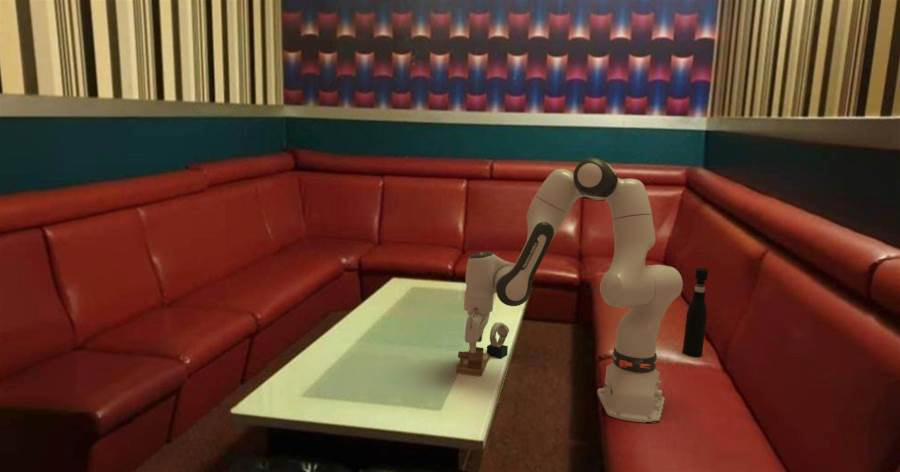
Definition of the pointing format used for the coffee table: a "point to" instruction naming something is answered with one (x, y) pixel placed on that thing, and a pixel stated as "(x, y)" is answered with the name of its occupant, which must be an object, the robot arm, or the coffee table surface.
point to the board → (463, 368)
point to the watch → (496, 347)
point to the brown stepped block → (473, 358)
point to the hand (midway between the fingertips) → (475, 346)
